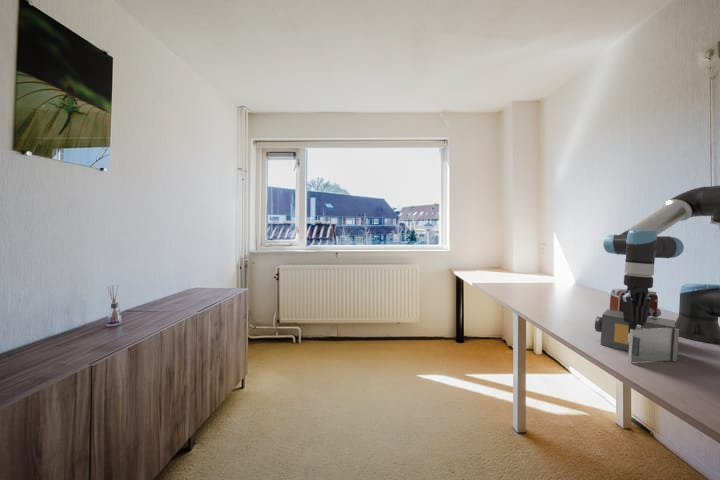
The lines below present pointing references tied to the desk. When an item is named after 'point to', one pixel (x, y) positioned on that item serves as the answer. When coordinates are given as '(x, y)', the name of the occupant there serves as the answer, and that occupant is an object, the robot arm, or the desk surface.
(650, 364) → the desk surface
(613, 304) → the cine camera
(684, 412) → the desk surface
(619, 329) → the grey cabinet with knob
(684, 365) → the desk surface
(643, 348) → the side door
